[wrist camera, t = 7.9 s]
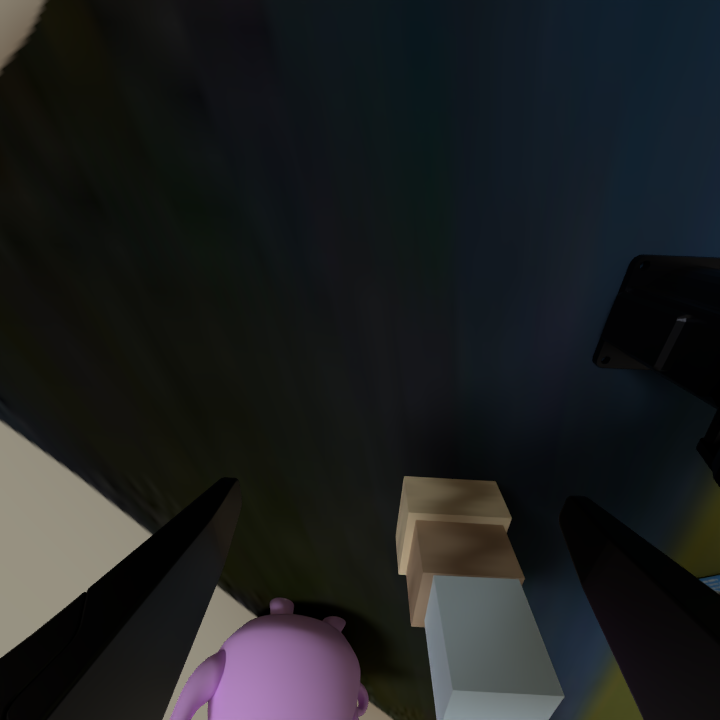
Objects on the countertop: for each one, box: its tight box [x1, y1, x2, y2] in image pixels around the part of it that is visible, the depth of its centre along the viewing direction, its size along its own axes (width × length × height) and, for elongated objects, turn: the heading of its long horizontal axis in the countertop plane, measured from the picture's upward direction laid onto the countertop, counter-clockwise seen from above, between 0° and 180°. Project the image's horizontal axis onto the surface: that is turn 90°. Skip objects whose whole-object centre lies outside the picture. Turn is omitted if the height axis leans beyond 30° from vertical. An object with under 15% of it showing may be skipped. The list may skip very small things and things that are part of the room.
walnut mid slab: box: [406, 520, 525, 627], centre depth 22 cm, size 6×6×4 cm
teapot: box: [170, 598, 369, 720], centre depth 29 cm, size 20×14×12 cm
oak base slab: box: [396, 476, 512, 575], centre depth 25 cm, size 7×7×4 cm
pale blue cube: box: [424, 575, 564, 720], centre depth 18 cm, size 5×5×5 cm
